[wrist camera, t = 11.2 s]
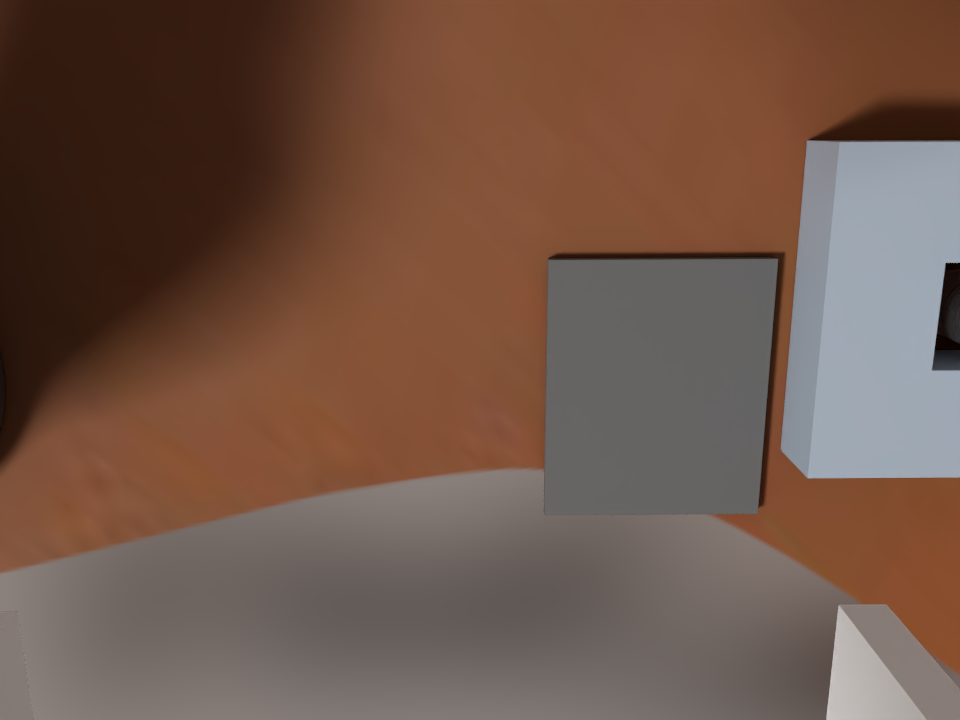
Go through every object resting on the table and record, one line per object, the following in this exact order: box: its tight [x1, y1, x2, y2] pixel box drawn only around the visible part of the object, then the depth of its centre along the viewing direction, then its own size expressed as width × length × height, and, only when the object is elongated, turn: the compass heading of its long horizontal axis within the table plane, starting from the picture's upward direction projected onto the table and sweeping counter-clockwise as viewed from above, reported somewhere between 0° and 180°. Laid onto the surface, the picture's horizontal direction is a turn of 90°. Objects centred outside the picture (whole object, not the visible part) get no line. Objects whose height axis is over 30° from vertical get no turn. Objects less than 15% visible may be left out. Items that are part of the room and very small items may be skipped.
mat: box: [544, 257, 778, 515], centre depth 41 cm, size 10×12×1 cm
